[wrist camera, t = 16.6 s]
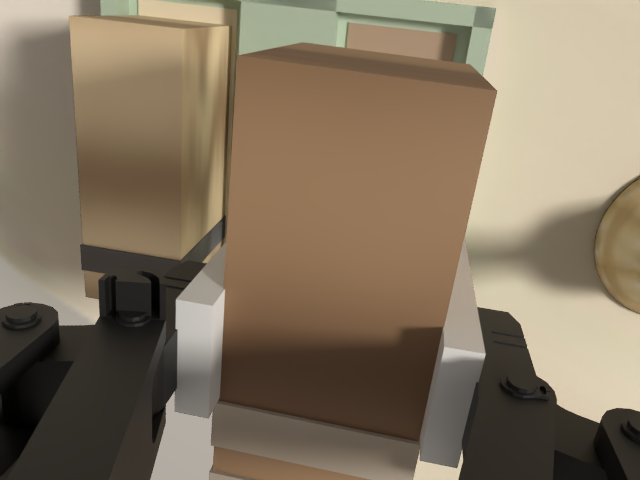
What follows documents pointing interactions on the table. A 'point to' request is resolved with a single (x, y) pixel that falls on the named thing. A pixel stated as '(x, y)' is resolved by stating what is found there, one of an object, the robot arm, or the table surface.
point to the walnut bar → (341, 257)
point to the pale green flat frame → (331, 30)
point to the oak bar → (150, 140)
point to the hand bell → (621, 248)
